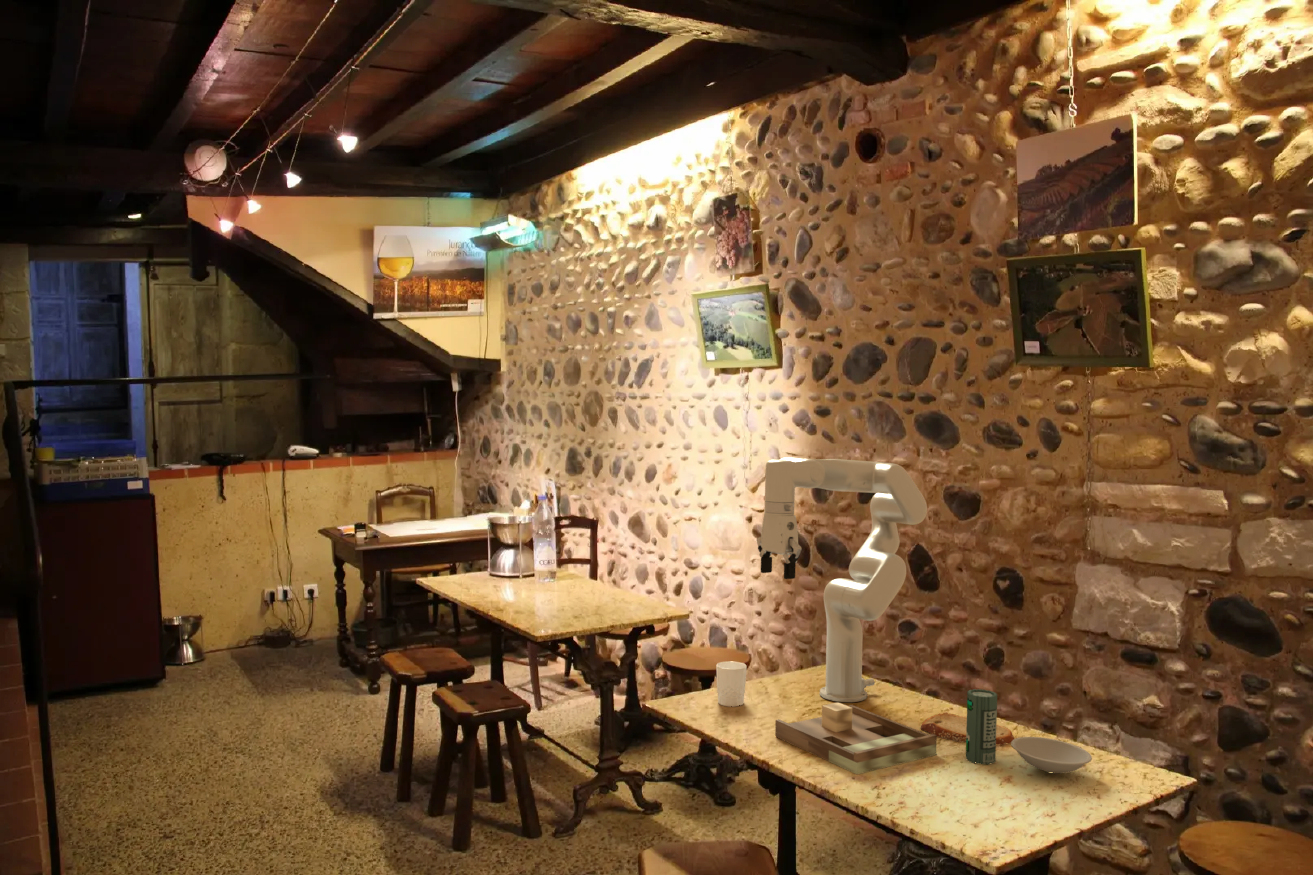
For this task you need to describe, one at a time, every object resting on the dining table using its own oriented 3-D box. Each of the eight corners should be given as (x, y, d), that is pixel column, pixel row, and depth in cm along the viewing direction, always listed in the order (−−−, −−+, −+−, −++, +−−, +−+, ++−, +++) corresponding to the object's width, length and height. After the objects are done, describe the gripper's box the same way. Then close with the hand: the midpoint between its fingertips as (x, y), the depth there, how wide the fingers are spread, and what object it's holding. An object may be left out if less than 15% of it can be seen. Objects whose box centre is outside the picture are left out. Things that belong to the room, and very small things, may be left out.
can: (979, 752, 238) (981, 687, 238) (1000, 761, 233) (1002, 694, 232) (960, 757, 235) (962, 691, 234) (981, 765, 230) (983, 698, 229)
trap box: (851, 720, 260) (851, 702, 260) (936, 754, 237) (936, 735, 236) (775, 736, 248) (775, 717, 248) (856, 774, 224) (857, 753, 224)
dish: (994, 764, 231) (995, 742, 231) (1039, 754, 238) (1040, 732, 238) (1061, 792, 215) (1061, 768, 215) (1107, 779, 223) (1107, 756, 222)
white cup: (710, 700, 276) (710, 663, 276) (736, 697, 279) (737, 660, 279) (724, 708, 269) (725, 670, 268) (751, 705, 272) (752, 667, 272)
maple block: (837, 722, 251) (838, 702, 250) (851, 728, 246) (852, 707, 246) (821, 726, 248) (822, 705, 248) (835, 732, 244) (836, 711, 243)
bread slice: (1021, 743, 246) (1021, 728, 246) (955, 751, 241) (955, 735, 240) (976, 720, 263) (976, 705, 263) (913, 726, 258) (913, 711, 257)
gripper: (812, 511, 259) (810, 580, 260) (770, 504, 274) (769, 569, 275) (788, 512, 256) (786, 582, 256) (747, 505, 271) (745, 571, 271)
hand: (777, 575), depth 266 cm, fingers open, 9 cm apart
